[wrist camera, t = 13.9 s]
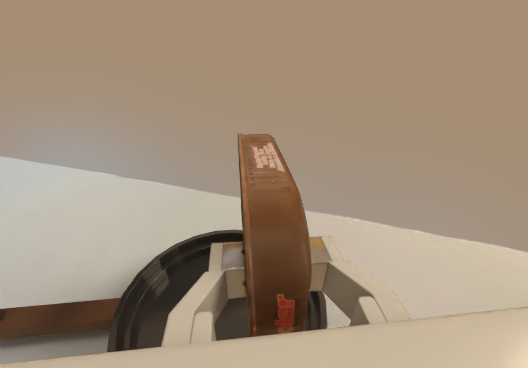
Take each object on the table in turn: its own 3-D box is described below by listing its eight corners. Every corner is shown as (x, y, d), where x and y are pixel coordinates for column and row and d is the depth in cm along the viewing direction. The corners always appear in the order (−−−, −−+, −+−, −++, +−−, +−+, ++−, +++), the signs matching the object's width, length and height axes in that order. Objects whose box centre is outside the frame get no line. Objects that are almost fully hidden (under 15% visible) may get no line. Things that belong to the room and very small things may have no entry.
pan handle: (-26, 342, 22) (-35, 333, 21) (-5, 318, 24) (-13, 309, 23) (117, 327, 23) (113, 319, 23) (126, 306, 25) (122, 297, 25)
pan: (69, 475, 16) (50, 462, 15) (152, 251, 34) (147, 235, 32) (358, 429, 19) (367, 413, 17) (296, 241, 36) (298, 225, 34)
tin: (241, 204, 25) (229, 120, 20) (272, 200, 25) (267, 116, 21) (251, 384, 11) (224, 251, 7) (318, 373, 12) (328, 237, 8)
